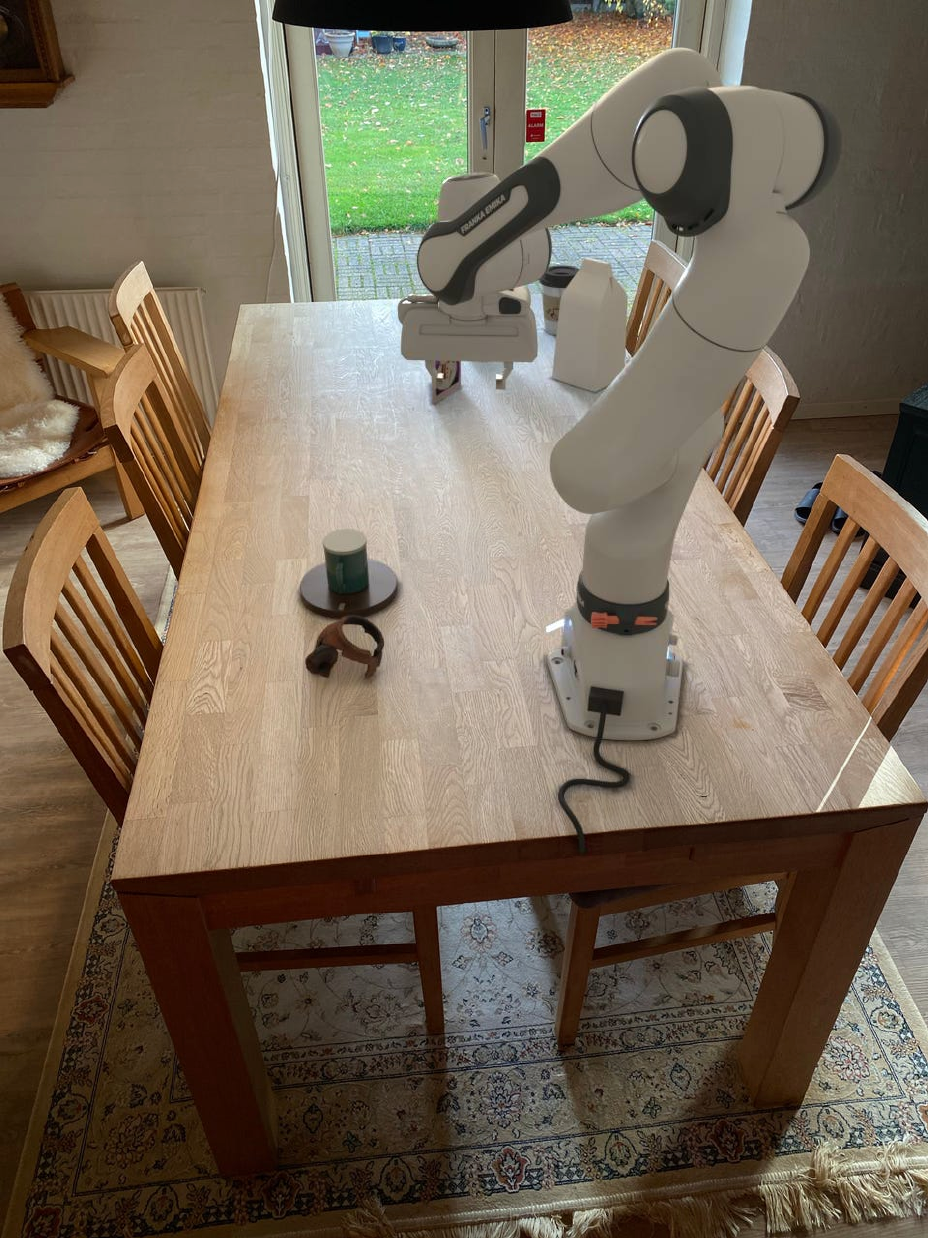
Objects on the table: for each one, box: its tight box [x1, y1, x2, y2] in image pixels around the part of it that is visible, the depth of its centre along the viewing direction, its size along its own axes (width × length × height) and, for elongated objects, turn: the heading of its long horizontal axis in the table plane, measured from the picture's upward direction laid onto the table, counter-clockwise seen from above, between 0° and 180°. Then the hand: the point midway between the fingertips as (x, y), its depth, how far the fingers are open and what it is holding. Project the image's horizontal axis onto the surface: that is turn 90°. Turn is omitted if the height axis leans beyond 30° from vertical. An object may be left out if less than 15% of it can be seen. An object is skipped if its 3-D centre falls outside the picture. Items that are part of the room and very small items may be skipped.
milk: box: [551, 257, 629, 393], centre depth 207 cm, size 12×12×26 cm
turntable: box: [299, 557, 398, 620], centre depth 145 cm, size 15×15×2 cm
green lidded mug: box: [322, 528, 369, 594], centre depth 142 cm, size 7×9×8 cm
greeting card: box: [430, 361, 462, 405], centre depth 204 cm, size 11×7×15 cm, turn 148°
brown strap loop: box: [304, 615, 385, 679], centre depth 129 cm, size 12×10×8 cm
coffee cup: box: [538, 264, 580, 336], centre depth 235 cm, size 11×11×15 cm
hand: (469, 387), depth 142 cm, fingers open, 8 cm apart
